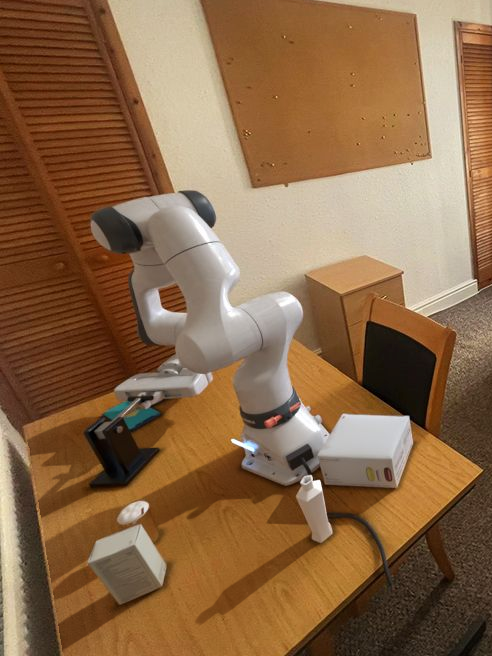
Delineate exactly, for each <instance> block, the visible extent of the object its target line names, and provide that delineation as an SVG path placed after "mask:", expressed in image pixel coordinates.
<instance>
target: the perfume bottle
mask: <svg viewBox="0 0 492 656" xmlns="http://www.w3.org/2000/svg"><path fill="white" fill-rule="evenodd" d="M299 483H300V485H301V487H300V488H299V490H298V492H297V493H296V495H295V498H296V500H297V502H298V505H299V507H300V509H301V511H302V513H303V515H304V518H305V520H306V522H307V524H308V527H309V529H310V531H311V540H313V541H314V542H317V543H319V544H322V543H323V542H324V541H326V540H327V539H328V538H329V537H331V535H333V533H334V532H333V529H332V524H331V523H330V522H329V519H328V518H329V517H327V513H328V512H327V508H326V503H325V498H324V492H323V487H322V483H321V480H320V479H317V480H315V481H313V478H312V475H308V476H304V477H303V479H301V480H300V481H299Z"/></svg>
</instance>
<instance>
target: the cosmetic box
mask: <svg viewBox="0 0 492 656" xmlns="http://www.w3.org/2000/svg"><path fill="white" fill-rule="evenodd" d="M87 564H88V566H89V567H90V568H91V570H92V571H93V572H94V574H96V576H97V578H98V580H100V581H101V583H102V584H103V585H104V587H105V588H106V589H107V591H108V593H110V595H111V596H112V597H113V598H114V600H115V601H116V603H117V604H118V605H120V606H121V605H123V604H125V603H128V602H130V601H132V600H135V599H137V598H139V597H142V596H144V595H146V594H149V593H151V592H153V591H155V590H158V589H160V588H161V587H163V584H164V579H165V576H166V571H167V567H168V566H167V563H166V562H165V560H164V558H163V557H162V555H161V553H160V552H159V550H158V548H157V547H156V545H155V544H154V543H153V542H152V541H151V539H150V538H149V536H148V535H147V533H146V531H145V530H144V528H143V527H142V525H141V524H139V525H136V526H133V527H131V528H128V529H125V530H124V529H122V530H121V531H117V532H115V533H113V534H110V535H107V536H105V537H102V538H99V539H97V540H96V541H95V544H94V546H93V548H92V551H91V553H90V555H89V558H88V560H87Z"/></svg>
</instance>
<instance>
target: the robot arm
mask: <svg viewBox="0 0 492 656" xmlns="http://www.w3.org/2000/svg"><path fill="white" fill-rule="evenodd" d="M89 222H90V230H91V234H92V236H93V237H94V239H95V240H96V242H97V243H98V244H100V245H101V247H103V248H104V249H106V250H107V251H108V252H111V253H113V254H117V255H128V254H129V256H130V258H131V261H132V263H133V267H134V268H133V269H131V271H130V272H129V274H128V279H127V281H128V282H127V284H128V289H129V293H130V298H131V302H132V305H133V309H134V313H135V318H136V322H137V323H136V332H137V336H138V338H139V340H140V341H141V342H142V343H143V344H145V345H146V346H147V347H165V346H166V347H167V346H168V347H174V348H175V349H174V351H175V353H174V354H173V355H172V356H170V357H169V358H168V359H167V360H166V361H164V362H163V363H162V364H160V365H159V366H158V368H157V371H156V372H141V373H138V374H137V373H136V374H135V375H133V376H131V377H129V378H127V379H126V380H124V381H123V382H122V383H120V384H119V385H117V386H116V387H115V388H114V389H113V393H114V395H115V397H116V399H117V401H119V402H125V401H127V399H128V397H131V396H154V399H153V400H152V401H142V402H141V403H140V404H139V405H138V406H137V407H136V408H134V409H148V408H149V407H151V406H152V405H153V404H155V403H157V402H159V401H161V400H162V399H167V400H170V399H187V398H188V399H190V398H195V397H196V396H197V397H198V396H199V395H200V394H201V393H202V392H204V390H205V389H206V388H207V387H208V385H209V384H210V383H211V382H212V381H213V380H214V377H213V372H217V371H219V370H222V369H224V368H227V367H230V366H232V365H234V364H235V363H238V362H239V361H241V360H243V361H242V362H241V364H239V366H238V367H237V368H236V370H235V372H234V374H233V377H232V387H233V389H234V392H235V396H236V398H237V401H238V404H239V409H238V410H239V415H240V418H241V420H242V422H243V424H244V425H243V428H242V431H241V434H240V438H241V441H238V440H237V439H234V438H232V439H231V442H232V443H233V444H235V445H237V446H240V447H242V448H243V450H244V455H245V457H244V458H243V459H242V461H241V469H243V470H245V471H248V472H250V473H253V474H255V475H258V476H260V477H262V478H265V479H266V480H267V479H268V480H270V481H272V482H274V483H277V484H279V485H283V486H285V487H287V486H290V485H293V484H296V483H298V482H301V480H302V479H303V477H304V476H308V475H312V478H313V481H316V480H315V477H314V475H313V473H314V472H315V471H317V470H318V469H319V468H321V467H320V463H319V460H318V456H317V455H318V454H319V452H320V450H321V448H322V447H323V445H324V444H325V442H326V440H327V439H328V437H329V435H330V434H331V433H330V432H328V431H327V429H326V428H325V427H324V426H323V425H322V424H323V419H322V416H321V415H320V414H316V415H312V414H311V413H310V411H312V410H311V409H312V408H311V407H310V405H306V406H305V405H304V404H303V401H302V400H301V398H300V397H299V394H298V392H297V391H296V389H295V387H294V386H293V385H292V382H291V377H290V372H289V367H288V356H289V350H290V346H291V343H292V340H293V338H294V335H295V334H296V331H297V330H298V328H299V327H300V325H301V324H302V323H303V320H304V309H303V306H302V304H301V302H300V301H299V300H298V298H297V297H295V296H294V295H292V294H291V293H289V292H287V291H284V290H282V291H281V290H280V291H274V292H271V293H266V294H262V295H259V296H256V297H254V298H252V299H249V300H248V301H245V302H243V303H241V304H238V305H235V306H232V305H231V302H230V300H229V294H230V293H231V292H232V291H233V290H234V289H235V287H236V286H237V285H238V283H239V281H240V279H241V269H240V268H239V267H238V265H237V264H236V261H235V260H234V259H233V257H232V256H231V254H230V253H229V251H228V250H227V248H226V247H225V246H224V245H225V244H223V242H222V241H221V239H220V238H219V236H217V234H216V232H214V230H213V228H214V227H215V225H216V222H217V215H216V211H215V209H214V206H213V205H212V202H210V200H209V199H208V197H207V196H206V195H204V194H203V193H201V192H200V191H198V190H193V189H191V190H189V189H188V190H187V189H186V190H178V191H177V192H171V193H162V194H156V195H152V196H143V197H139V198H134V199H131V200H128V201H124V202H122V203H118V204H115V205H113V206H110V205H107V206H104V207H102V208H99V209H98V210H95V211H94V212H92V214H91V216H90V218H89ZM174 285H177V286H178V288H179V290H180V292H181V294H182V295H183V298H184V300H185V301H184V302H185V306H186V312H177V311H170V310H167V309H165V308H164V307H163V306H162V302H161V297H160V292H159V290H161V289H165V288H168V287H171V286H174ZM326 513H327V518H350V519H353V520H355V521H357V522H359V523H360V524H361V525H362V526H364V527H365V528H366V529H367V530H368V532H369V533H370V535H371V537H372V538H373V539H374V541H375V543H376V545H377V547H378V549H379V552H380V557H381V563H382V567H383V572H384V574H385V578H386V581H387V585H388V587H393V586H394V582H393V580H392V576H391V572H390V570H389V566H388V560H387V556H386V552H385V549H384V546H383V544H382V543H383V542H381V540H380V537H379V536H378V534H377V532H376V530H375V529H374V528H373V526H372V525H371V524H370V523H369V522H367V520H365V519H364V518H362V517H361V516H359V515H357V514H354V513H351V512H350V513H349V512H335V513H334V512H332V513H331V512H326Z"/></svg>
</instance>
